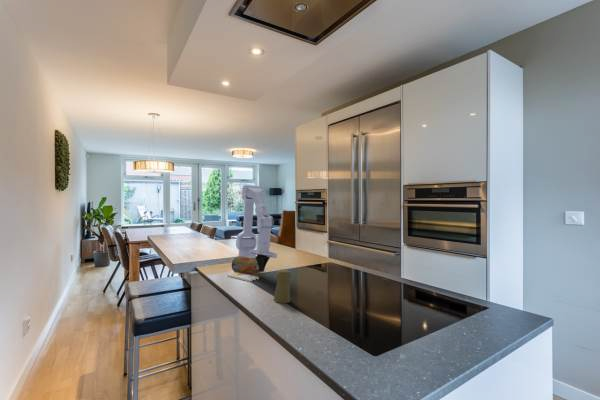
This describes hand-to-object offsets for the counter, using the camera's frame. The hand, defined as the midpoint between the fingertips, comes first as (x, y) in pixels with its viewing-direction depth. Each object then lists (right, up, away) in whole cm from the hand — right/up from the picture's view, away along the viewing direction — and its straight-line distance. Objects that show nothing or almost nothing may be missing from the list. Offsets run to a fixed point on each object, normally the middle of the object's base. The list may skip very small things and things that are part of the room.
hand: (261, 271), depth 139 cm
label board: (-8, -2, -2) cm, 9 cm away
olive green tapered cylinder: (+11, -3, -31) cm, 33 cm away
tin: (-8, -3, +4) cm, 9 cm away
